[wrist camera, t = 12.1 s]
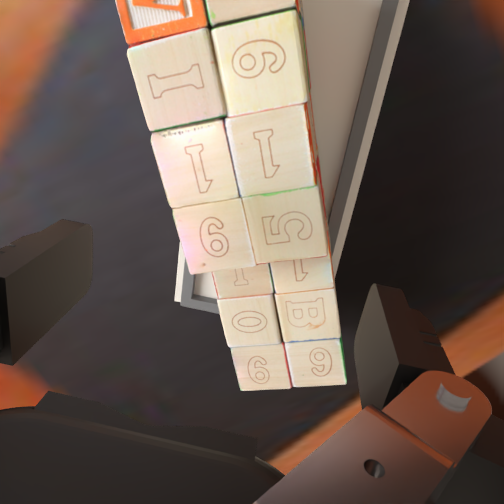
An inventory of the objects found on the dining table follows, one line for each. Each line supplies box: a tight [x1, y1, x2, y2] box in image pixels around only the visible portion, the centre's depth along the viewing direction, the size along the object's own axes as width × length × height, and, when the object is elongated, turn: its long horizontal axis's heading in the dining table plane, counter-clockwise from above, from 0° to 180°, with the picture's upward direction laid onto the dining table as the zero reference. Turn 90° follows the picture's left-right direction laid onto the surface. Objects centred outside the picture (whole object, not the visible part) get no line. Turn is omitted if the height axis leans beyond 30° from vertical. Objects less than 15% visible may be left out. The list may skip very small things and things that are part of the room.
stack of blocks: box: [115, 0, 347, 391], centre depth 23 cm, size 21×6×12 cm, turn 11°
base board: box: [175, 0, 410, 314], centre depth 29 cm, size 26×12×2 cm, turn 171°
